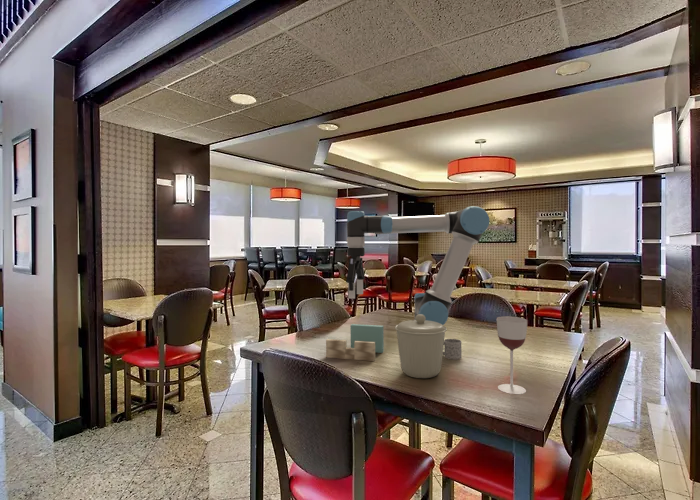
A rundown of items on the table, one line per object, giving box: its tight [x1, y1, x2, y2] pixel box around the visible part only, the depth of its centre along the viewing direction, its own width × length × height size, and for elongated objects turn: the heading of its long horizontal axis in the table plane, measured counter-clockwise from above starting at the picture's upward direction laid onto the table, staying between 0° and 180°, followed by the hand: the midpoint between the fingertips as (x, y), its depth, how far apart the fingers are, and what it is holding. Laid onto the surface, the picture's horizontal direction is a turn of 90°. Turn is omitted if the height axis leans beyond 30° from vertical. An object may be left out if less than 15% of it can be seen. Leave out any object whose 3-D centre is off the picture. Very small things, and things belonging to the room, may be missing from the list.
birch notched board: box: [325, 338, 376, 362], centre depth 153 cm, size 20×2×7 cm, turn 74°
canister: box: [394, 314, 448, 379], centre depth 134 cm, size 18×18×21 cm
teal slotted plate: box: [350, 323, 385, 354], centre depth 163 cm, size 2×14×11 cm, turn 74°
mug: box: [442, 338, 463, 360], centre depth 154 cm, size 10×7×7 cm
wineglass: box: [496, 315, 528, 395], centre depth 120 cm, size 9×10×22 cm
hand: (356, 296), depth 164 cm, fingers open, 13 cm apart
